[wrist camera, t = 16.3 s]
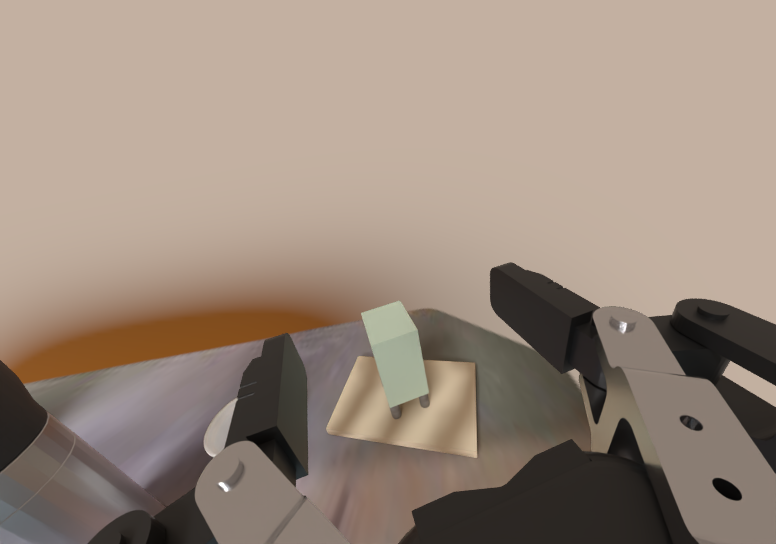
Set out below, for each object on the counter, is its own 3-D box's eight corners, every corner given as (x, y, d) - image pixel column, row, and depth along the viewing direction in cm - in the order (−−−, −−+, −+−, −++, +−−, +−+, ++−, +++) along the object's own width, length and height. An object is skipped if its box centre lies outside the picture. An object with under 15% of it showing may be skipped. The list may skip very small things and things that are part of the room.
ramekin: (261, 400, 42) (249, 381, 40) (303, 420, 37) (291, 400, 35) (206, 458, 35) (189, 439, 33) (248, 491, 31) (231, 471, 29)
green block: (429, 393, 33) (417, 329, 28) (389, 408, 32) (371, 345, 28) (412, 358, 38) (400, 300, 33) (378, 370, 37) (361, 313, 33)
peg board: (328, 434, 35) (319, 416, 33) (360, 361, 45) (354, 344, 43) (477, 457, 29) (475, 438, 27) (475, 368, 39) (474, 349, 37)
